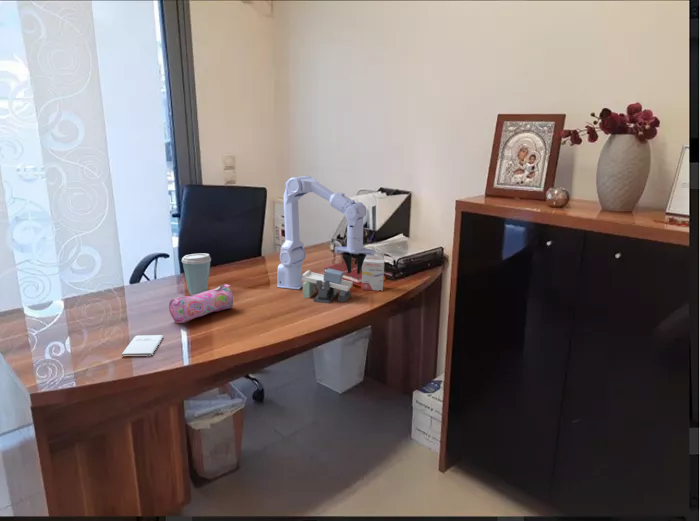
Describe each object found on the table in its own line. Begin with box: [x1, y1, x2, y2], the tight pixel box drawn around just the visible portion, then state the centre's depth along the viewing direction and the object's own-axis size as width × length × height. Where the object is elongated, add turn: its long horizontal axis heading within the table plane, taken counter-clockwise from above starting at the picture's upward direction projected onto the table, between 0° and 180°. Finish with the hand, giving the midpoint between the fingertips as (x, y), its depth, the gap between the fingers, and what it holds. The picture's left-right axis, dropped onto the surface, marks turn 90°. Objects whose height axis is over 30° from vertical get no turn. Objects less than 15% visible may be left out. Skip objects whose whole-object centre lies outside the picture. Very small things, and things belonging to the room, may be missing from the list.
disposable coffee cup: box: [181, 252, 212, 296], centre depth 187 cm, size 11×11×15 cm
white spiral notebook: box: [121, 334, 164, 357], centre depth 143 cm, size 2×8×12 cm
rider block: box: [323, 267, 344, 284], centre depth 185 cm, size 6×4×4 cm
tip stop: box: [337, 290, 352, 303], centre depth 186 cm, size 3×7×2 cm, turn 165°
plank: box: [302, 269, 354, 296], centre depth 186 cm, size 18×10×4 cm, turn 76°
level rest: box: [302, 281, 316, 299], centre depth 189 cm, size 2×7×6 cm, turn 165°
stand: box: [313, 280, 340, 304], centre depth 187 cm, size 6×13×8 cm, turn 165°
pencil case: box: [168, 283, 234, 324], centre depth 167 cm, size 21×9×9 cm, turn 141°
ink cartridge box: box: [361, 251, 385, 292], centre depth 196 cm, size 9×5×15 cm, turn 84°
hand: (354, 272), depth 183 cm, fingers open, 3 cm apart
